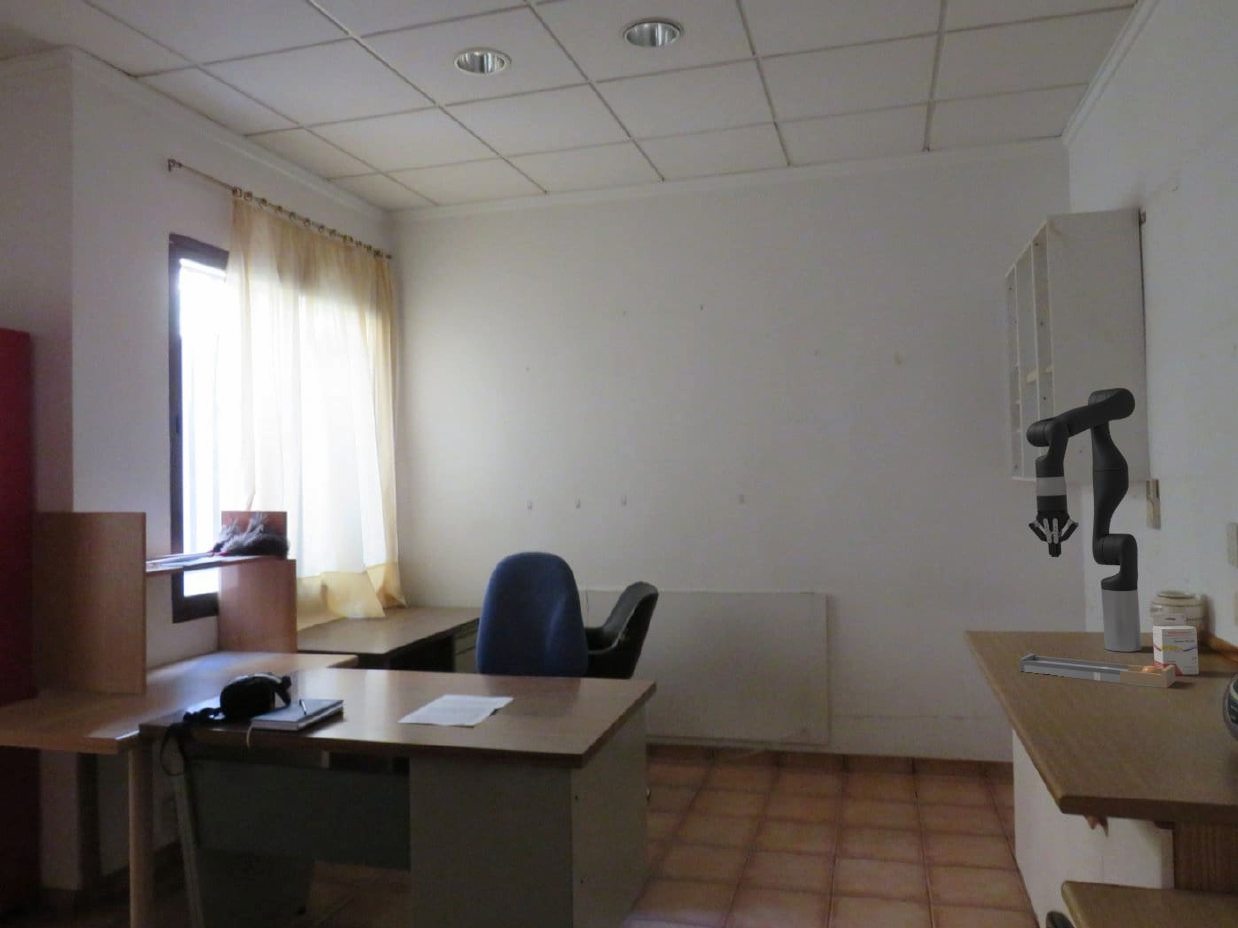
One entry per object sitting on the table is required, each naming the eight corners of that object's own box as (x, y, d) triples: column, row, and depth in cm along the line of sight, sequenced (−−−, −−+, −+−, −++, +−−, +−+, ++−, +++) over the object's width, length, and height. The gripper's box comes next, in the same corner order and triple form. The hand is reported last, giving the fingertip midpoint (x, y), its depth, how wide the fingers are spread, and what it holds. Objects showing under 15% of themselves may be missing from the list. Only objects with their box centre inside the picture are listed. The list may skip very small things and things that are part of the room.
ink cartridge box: (1164, 675, 226) (1160, 616, 226) (1154, 671, 231) (1150, 613, 231) (1200, 674, 225) (1196, 615, 225) (1189, 669, 230) (1185, 612, 230)
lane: (1032, 666, 243) (1031, 651, 243) (1175, 681, 219) (1174, 664, 219) (1020, 671, 237) (1019, 656, 238) (1166, 687, 214) (1165, 671, 214)
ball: (1141, 673, 223) (1148, 660, 221) (1157, 683, 220) (1165, 669, 219) (1136, 677, 220) (1143, 664, 218) (1153, 686, 217) (1160, 673, 216)
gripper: (1081, 492, 244) (1085, 556, 244) (1031, 493, 253) (1035, 555, 253) (1072, 493, 239) (1076, 558, 238) (1021, 495, 248) (1025, 557, 248)
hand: (1055, 556), depth 246 cm, fingers closed
